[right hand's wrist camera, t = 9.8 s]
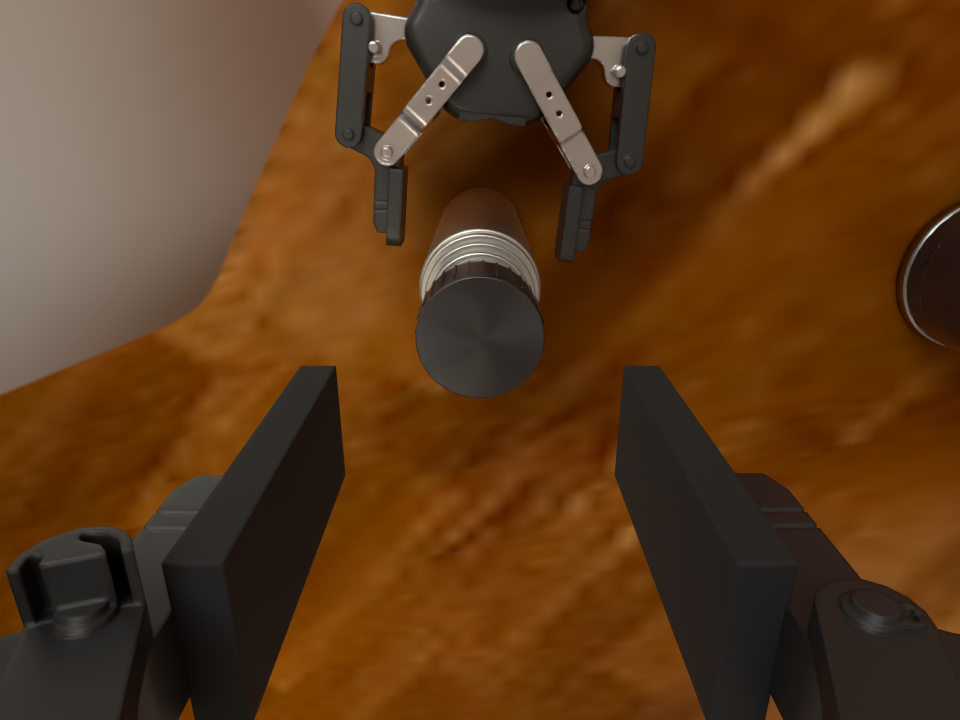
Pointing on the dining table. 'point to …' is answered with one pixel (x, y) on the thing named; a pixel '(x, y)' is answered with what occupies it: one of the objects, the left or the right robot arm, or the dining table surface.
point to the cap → (480, 330)
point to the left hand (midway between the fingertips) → (480, 251)
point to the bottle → (479, 238)
